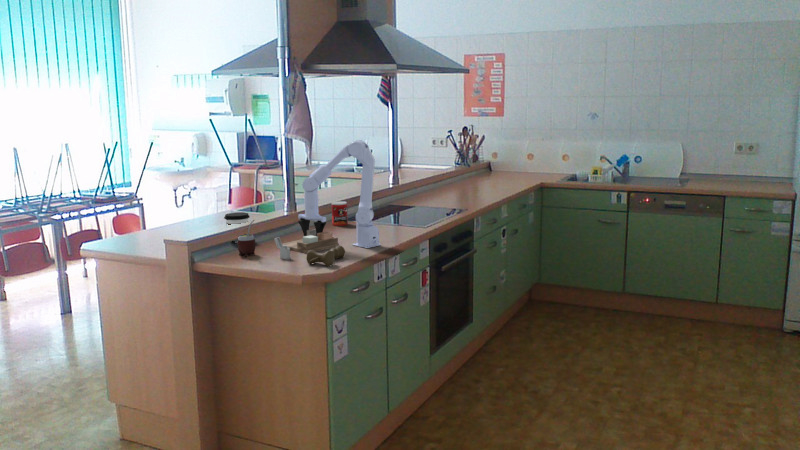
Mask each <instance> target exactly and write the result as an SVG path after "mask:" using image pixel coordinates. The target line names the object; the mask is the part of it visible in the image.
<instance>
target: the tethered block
mask: <svg viewBox="0 0 800 450" xmlns="http://www.w3.org/2000/svg"><path fill="white" fill-rule="evenodd" d="M310 235H312V236H316V228H313V229H309V230H307V236H310ZM317 237H318V240H321V241H324V240H328V239H333V237H334V236H333V232H329V231H323V232H321V233H317Z"/></svg>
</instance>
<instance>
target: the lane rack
mask: <svg viewBox="0 0 800 450" xmlns="http://www.w3.org/2000/svg"><path fill="white" fill-rule="evenodd" d="M281 243H282V242H281ZM282 245H287V248H290V251H294V252H298V253H301V254H307V253H308V251H310V250H314V251H315V252H319V250H320V251H324V249H325V250H330V249H331V248H335V247H336V246H340V244H339V238H338V237H335V236H333V239H328V240H324V241H321V240H318V242H314V243H309V244H306V243H303V241H302V239H297V240H291V241H288V242H283V243H282Z"/></svg>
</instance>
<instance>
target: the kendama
mask: <svg viewBox="0 0 800 450" xmlns="http://www.w3.org/2000/svg"><path fill="white" fill-rule="evenodd" d="M345 255H346V250H345V248H344V247H343V246H342V245H339V246H336V247H334V248H329V249H328V250H327V251H326V252H323V253H319V252H318V251H314V250H310V251H308V253H306V262H307V264H308V265H313V264H312V263H314V264H316V263H323V264H324V265H325V266H326V267H328V266H329V267H331V266H330V265H332V264H333V265H334V263H335V260H336V259H339V258H340V259H342V258H343V257H345ZM333 265H332V266H333Z"/></svg>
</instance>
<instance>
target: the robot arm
mask: <svg viewBox="0 0 800 450" xmlns="http://www.w3.org/2000/svg"><path fill="white" fill-rule="evenodd" d="M351 157H353V158H355V159H356V160H358V161H359V162H360V164H362V168H361V169H362V170H361V184H360V195H359V197H360V198H359V204H358V208H357V209H358V210H357V212H356V214H355V221H356V224H355V225H356V227H355V228H356V243H352V246H356V247H360V248H364V249H365V248H366V249H370V248H374V247H380V246H382V244H381V243H380V230H379V228H378V226H375V225H374V222H373V219H374V216H375V212H374V211H373V202H372V198H373V188H374V187H373V186H374V185H373V184H374V177H375V176H374V174H375V162H376V160H375V158H374V156H373V153H372V152H371V150H370V147H369V145H368V144H367V143H366V142H365V141H363V140H362V139H356V140H353V141H351V142H350V143H348V144H347V145H346V146H344V147H343V148H341V149H340V150H339V151H338V152H337V153H336V154H335V155H334V156H333V157H332V158H331V159H330V160H329V161H328V162H327V163H326V164H324V163H323V164H320V165H317V166H316V169H315V170H314V171H313V172H312V173H309V175H308V176H309V177H306V178H304V180H303V181H302V184H301V185H302V188H303V190H304V191H303V193H304V195H303V197H304V213H299V214H298V220H297V221H298V224H299V226H300V228H301V231H302V233H303V237H304V236H307V230H310V223H311V221H313V225H314V227H315V228H314V229H316V236H317V233H321V232H324V229H325V227H326V224H327V217H326V216H323V215H321V214H319V213H320V212H319V194H318V193H319V192H318V190H319V187H320V185H322V184H323V183H324V182H325V180H327V179H328V178H330V176H332V170H333V169H334V168H335V167H336V166H337V165H339V164H340V163H341V162H343V161H344V160H345V159H346V158H351Z"/></svg>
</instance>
